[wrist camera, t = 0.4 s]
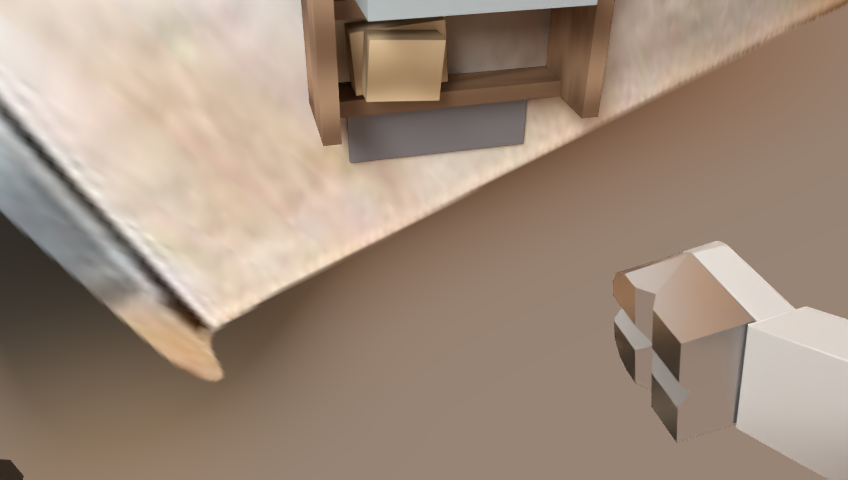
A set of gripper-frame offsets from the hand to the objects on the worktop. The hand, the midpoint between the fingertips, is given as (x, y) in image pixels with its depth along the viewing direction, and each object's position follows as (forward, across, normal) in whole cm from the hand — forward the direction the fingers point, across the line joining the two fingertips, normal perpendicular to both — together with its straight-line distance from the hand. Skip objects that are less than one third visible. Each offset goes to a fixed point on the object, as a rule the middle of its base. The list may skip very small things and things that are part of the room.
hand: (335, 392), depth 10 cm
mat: (+45, -11, +20) cm, 50 cm away
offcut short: (+41, -8, +13) cm, 44 cm away
